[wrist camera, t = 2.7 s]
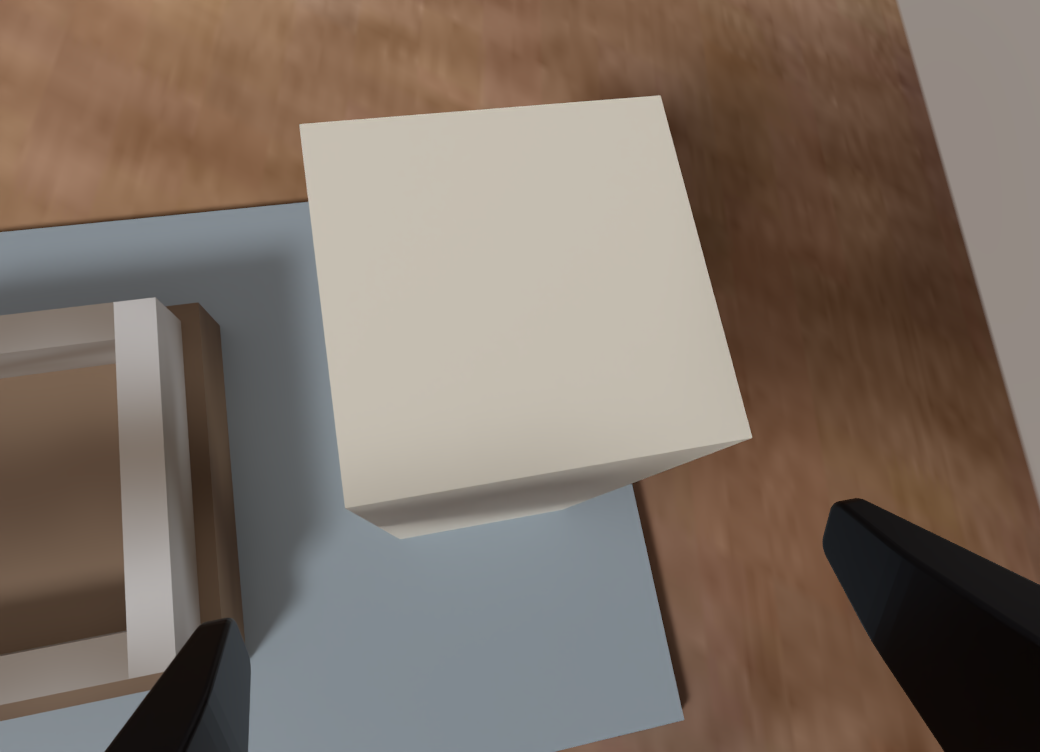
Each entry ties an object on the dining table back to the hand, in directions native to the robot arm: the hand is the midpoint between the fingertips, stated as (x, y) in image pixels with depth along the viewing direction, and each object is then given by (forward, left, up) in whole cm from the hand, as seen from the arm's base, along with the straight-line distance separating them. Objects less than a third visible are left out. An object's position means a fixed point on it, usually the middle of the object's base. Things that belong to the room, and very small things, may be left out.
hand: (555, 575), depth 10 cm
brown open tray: (+9, +9, -11) cm, 17 cm away
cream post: (+3, -2, -11) cm, 11 cm away
